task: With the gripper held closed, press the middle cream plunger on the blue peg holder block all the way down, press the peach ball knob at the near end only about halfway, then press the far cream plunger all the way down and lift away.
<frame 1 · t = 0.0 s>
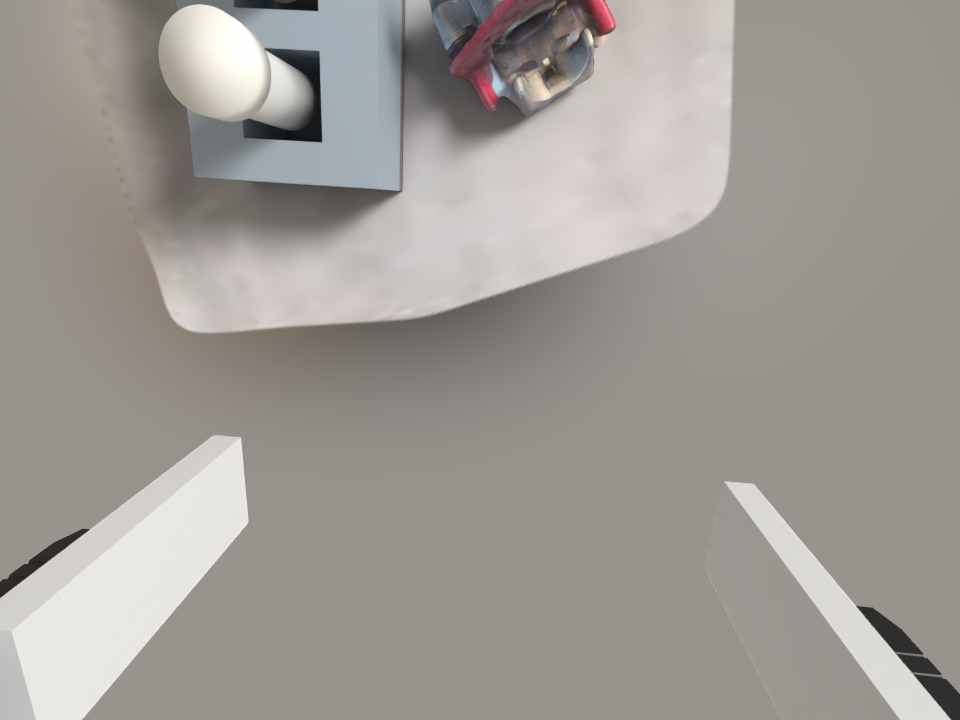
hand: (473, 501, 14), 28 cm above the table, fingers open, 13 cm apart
plunger cream b: (254, 83, 28), point 10 cm above the table, slide at 0.0 cm
brake caliper: (525, 37, 35), on the table
blue peg holder block: (319, 4, 35), on the table
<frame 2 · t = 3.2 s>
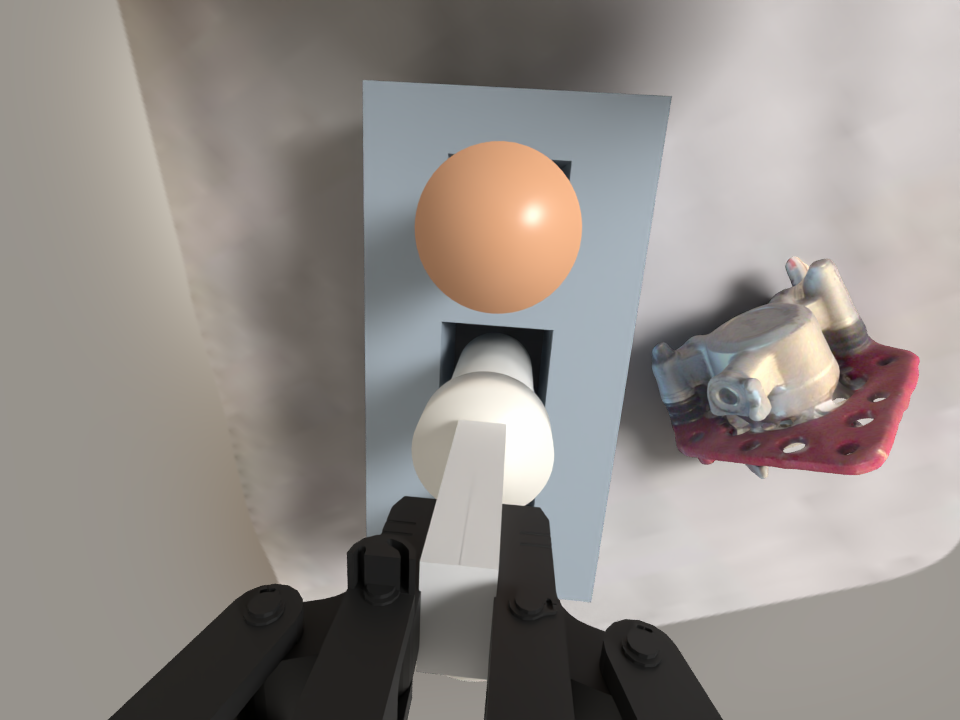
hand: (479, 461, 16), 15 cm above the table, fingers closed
plunger cream b: (478, 551, 22), point 10 cm above the table, slide at 0.0 cm
plunger cream a: (489, 402, 20), point 10 cm above the table, slide at 0.3 cm, touching gripper
brake caliper: (741, 363, 30), on the table
peach ball knob: (502, 224, 18), point 10 cm above the table, slide at 0.0 cm
blue peg holder block: (499, 339, 30), on the table
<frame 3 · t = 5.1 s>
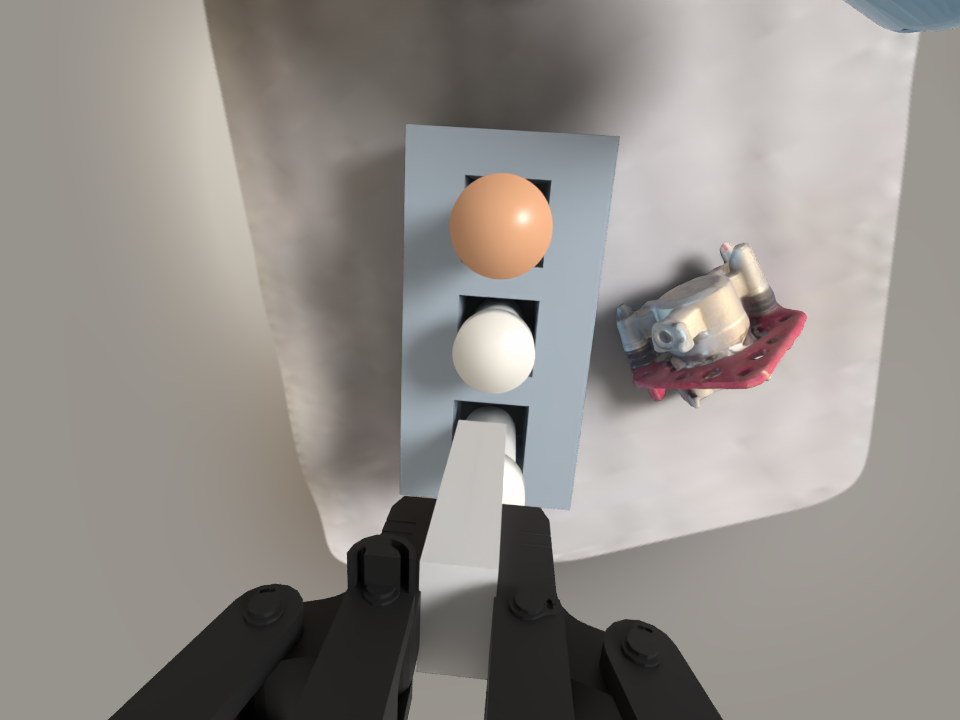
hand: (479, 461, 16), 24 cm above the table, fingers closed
plunger cream b: (486, 460, 31), point 10 cm above the table, slide at 0.0 cm
plunger cream a: (496, 335, 32), point 7 cm above the table, slide at 3.6 cm
brake caliper: (687, 325, 38), on the table
peach ball knob: (503, 224, 27), point 10 cm above the table, slide at 0.0 cm
blue peg holder block: (499, 314, 39), on the table
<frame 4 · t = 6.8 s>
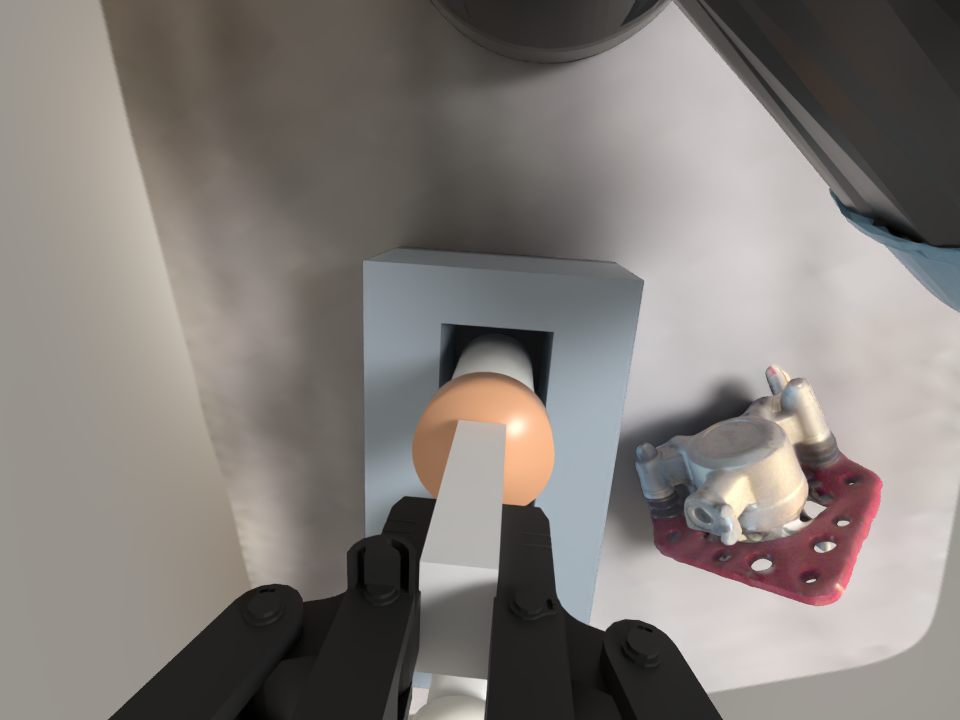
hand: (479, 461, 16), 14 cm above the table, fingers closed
plunger cream b: (469, 677, 24), point 10 cm above the table, slide at 0.0 cm
brake caliper: (720, 456, 31), on the table
peach ball knob: (490, 403, 20), point 10 cm above the table, slide at 0.5 cm, touching gripper
blue peg holder block: (491, 447, 32), on the table
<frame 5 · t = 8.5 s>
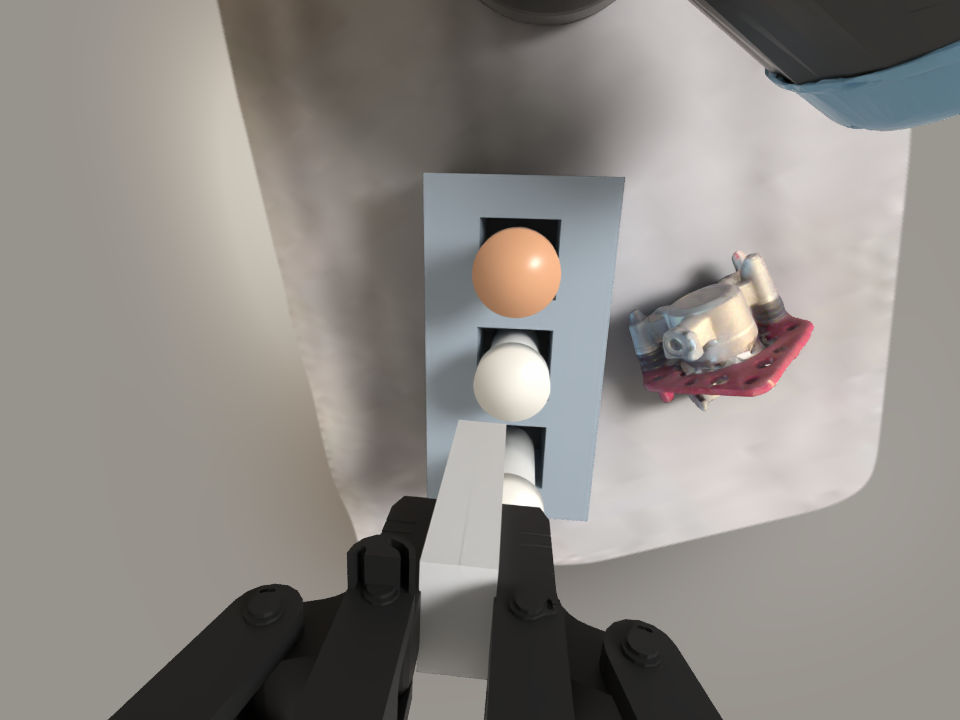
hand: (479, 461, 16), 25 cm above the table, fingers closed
plunger cream b: (507, 480, 33), point 10 cm above the table, slide at 0.0 cm
plunger cream a: (513, 362, 34), point 7 cm above the table, slide at 3.6 cm
brake caliper: (698, 330, 39), on the table
peach ball knob: (518, 262, 30), point 9 cm above the table, slide at 1.7 cm
blue peg holder block: (516, 335, 41), on the table
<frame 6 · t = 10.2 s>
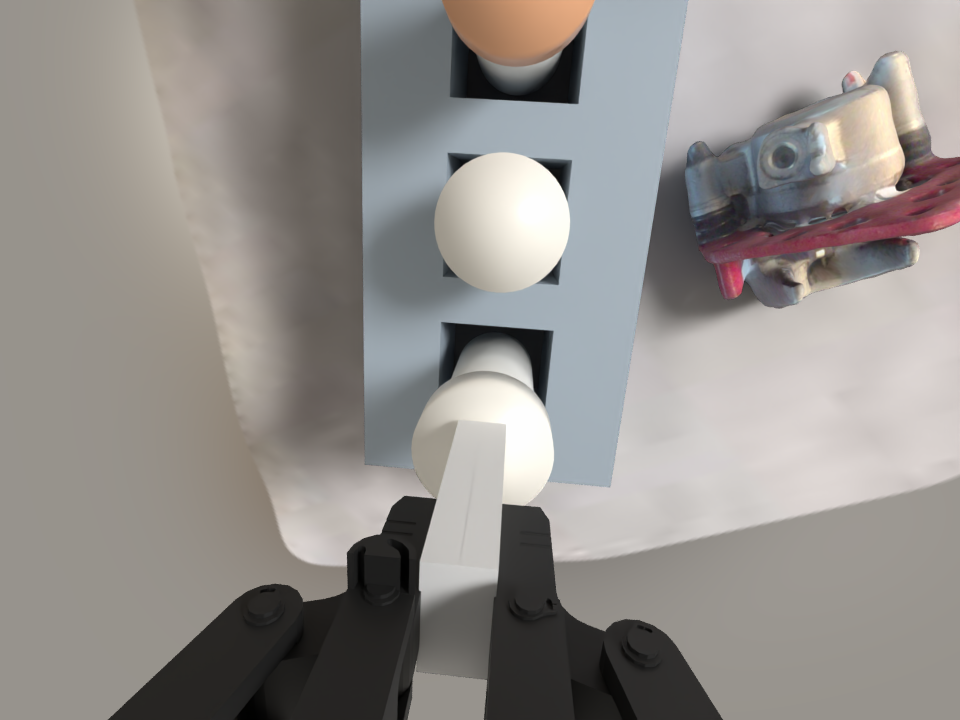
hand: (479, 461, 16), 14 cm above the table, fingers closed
plunger cream b: (489, 402, 20), point 10 cm above the table, slide at 0.4 cm, touching gripper
plunger cream a: (505, 220, 21), point 7 cm above the table, slide at 3.6 cm
brake caliper: (777, 200, 27), on the table
peach ball knob: (519, 11, 17), point 9 cm above the table, slide at 1.7 cm
blue peg holder block: (508, 216, 28), on the table
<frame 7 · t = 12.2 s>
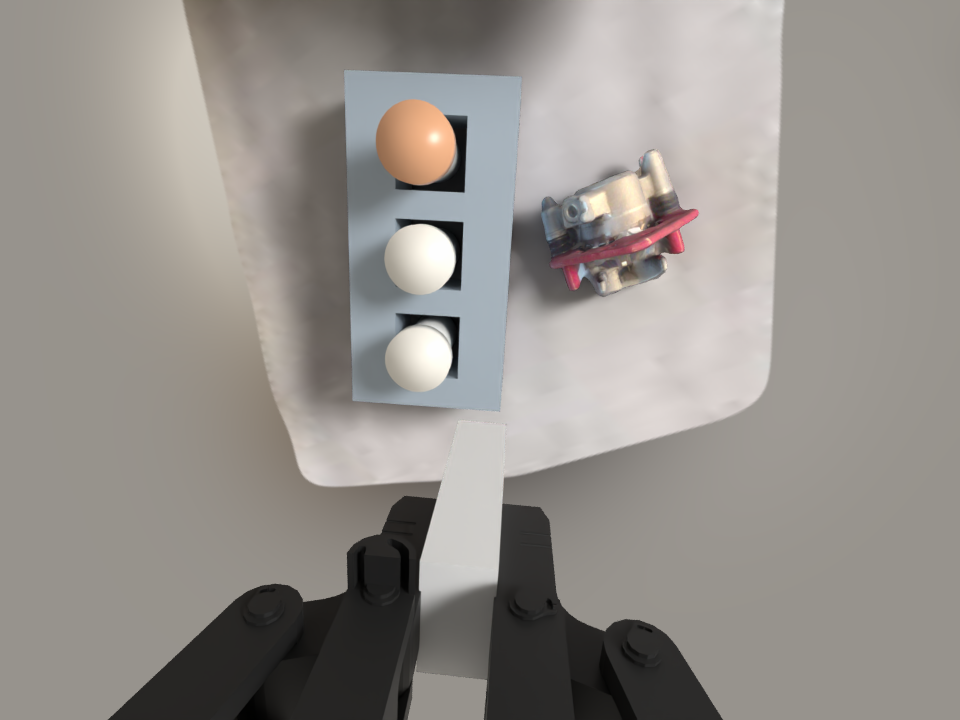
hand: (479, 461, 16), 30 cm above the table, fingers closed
plunger cream b: (427, 345, 40), point 7 cm above the table, slide at 3.6 cm
plunger cream a: (429, 254, 38), point 7 cm above the table, slide at 3.6 cm
brake caliper: (607, 230, 43), on the table
peach ball knob: (426, 150, 34), point 9 cm above the table, slide at 1.7 cm
blue peg holder block: (441, 248, 44), on the table
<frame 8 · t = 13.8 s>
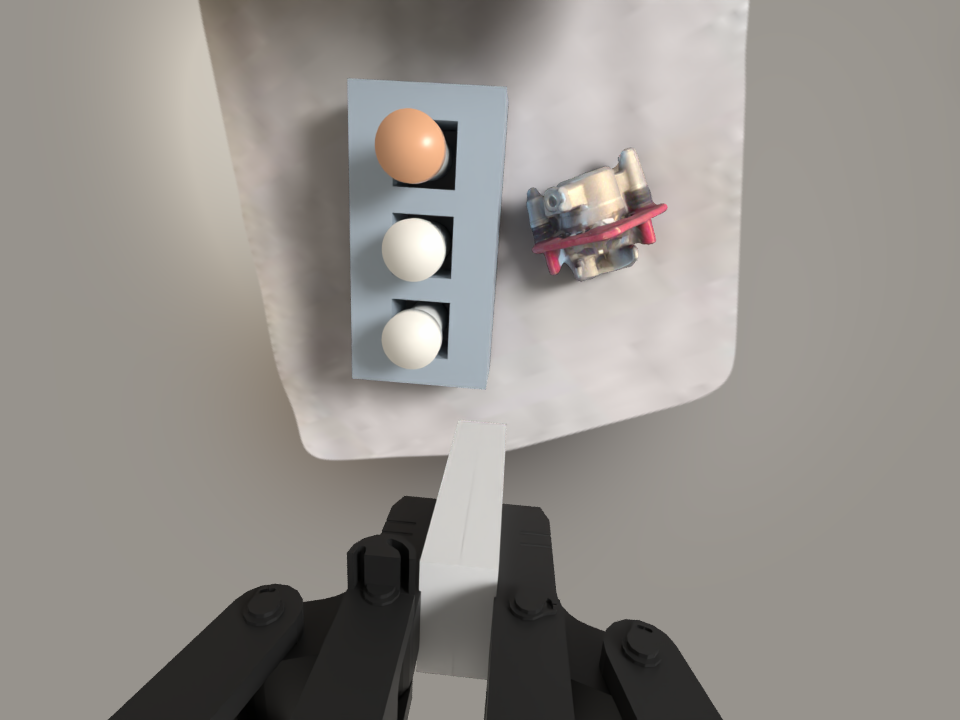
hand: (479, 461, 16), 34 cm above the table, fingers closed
plunger cream b: (420, 328, 44), point 7 cm above the table, slide at 3.6 cm
plunger cream a: (422, 246, 42), point 7 cm above the table, slide at 3.6 cm
brake caliper: (588, 221, 47), on the table
peach ball knob: (420, 152, 38), point 9 cm above the table, slide at 1.7 cm
blue peg holder block: (435, 240, 48), on the table
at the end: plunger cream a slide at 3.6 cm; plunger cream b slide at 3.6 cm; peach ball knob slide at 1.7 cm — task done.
